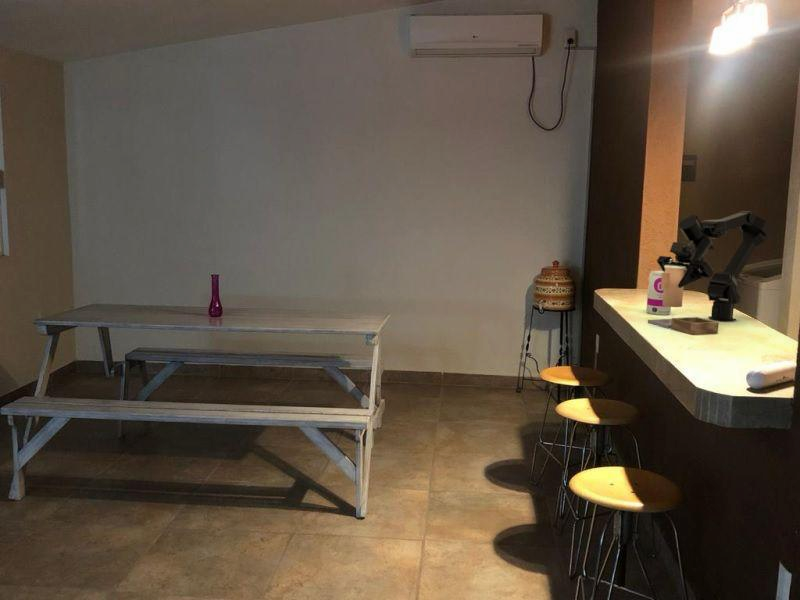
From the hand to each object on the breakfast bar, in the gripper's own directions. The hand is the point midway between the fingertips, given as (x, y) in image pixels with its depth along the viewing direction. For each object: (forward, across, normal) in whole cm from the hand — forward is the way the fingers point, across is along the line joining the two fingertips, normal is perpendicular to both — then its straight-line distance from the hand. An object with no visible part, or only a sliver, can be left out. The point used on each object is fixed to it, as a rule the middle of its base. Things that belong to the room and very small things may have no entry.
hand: (670, 285), depth 248 cm
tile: (+8, 0, +10) cm, 13 cm away
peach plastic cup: (+4, 0, +5) cm, 7 cm away
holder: (+10, +11, +9) cm, 17 cm away
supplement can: (-2, -18, +22) cm, 28 cm away
